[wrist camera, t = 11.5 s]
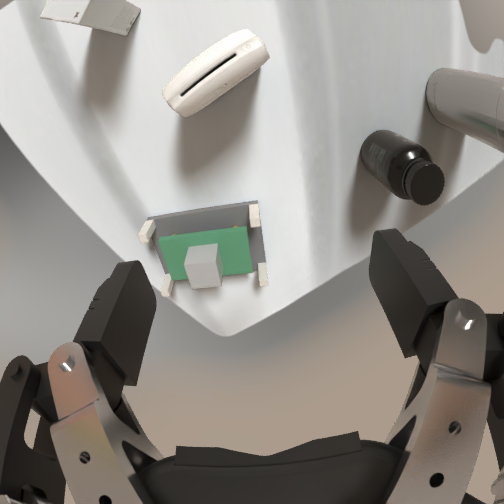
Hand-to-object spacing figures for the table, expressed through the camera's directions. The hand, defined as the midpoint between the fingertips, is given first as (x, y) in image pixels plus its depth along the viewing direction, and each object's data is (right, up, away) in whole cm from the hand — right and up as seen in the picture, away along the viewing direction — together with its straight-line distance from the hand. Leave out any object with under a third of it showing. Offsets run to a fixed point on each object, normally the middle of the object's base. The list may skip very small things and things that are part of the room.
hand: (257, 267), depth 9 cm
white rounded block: (-4, +22, +19) cm, 29 cm away
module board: (-6, 0, +30) cm, 31 cm away
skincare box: (-17, +30, +13) cm, 37 cm away
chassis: (-7, +2, +33) cm, 33 cm away
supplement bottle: (+18, +14, +25) cm, 34 cm away
